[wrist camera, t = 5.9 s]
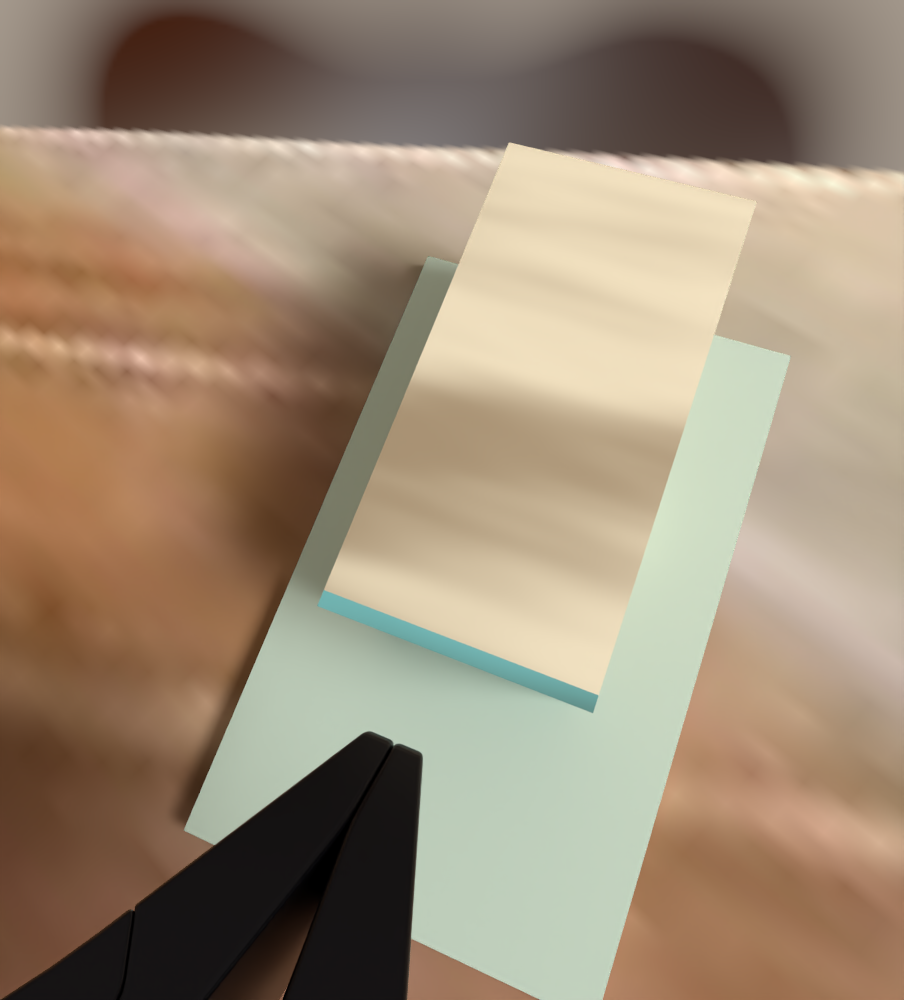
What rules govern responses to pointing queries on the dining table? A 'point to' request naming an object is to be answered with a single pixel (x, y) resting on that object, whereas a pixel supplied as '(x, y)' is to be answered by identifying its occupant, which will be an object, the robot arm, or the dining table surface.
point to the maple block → (543, 422)
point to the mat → (508, 701)
